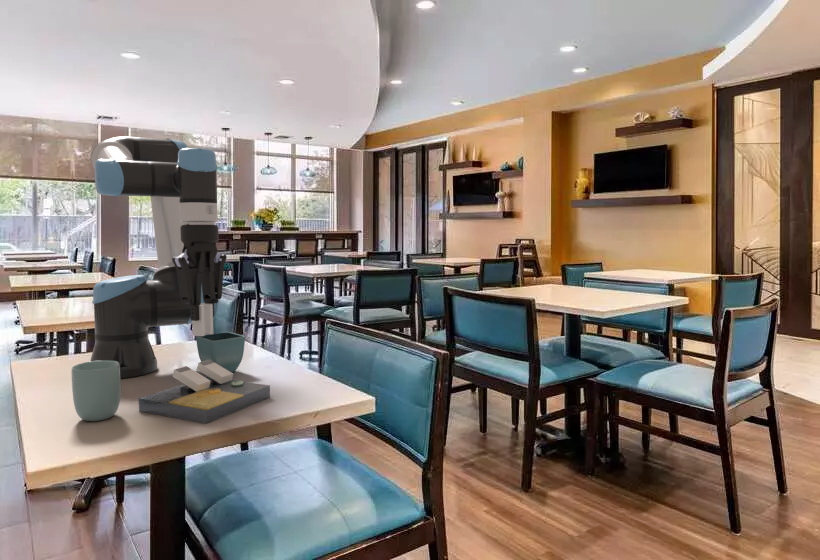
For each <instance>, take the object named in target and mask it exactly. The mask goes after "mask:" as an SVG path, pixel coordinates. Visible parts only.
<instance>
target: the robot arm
mask: <svg viewBox="0 0 820 560" xmlns="http://www.w3.org/2000/svg"><path fill="white" fill-rule="evenodd" d="M90 162H91V165H92V167H93V169H94V184H95V190H96V194H97V193H98V195H101V196H111V197H123V196H124V197H150V205H151V213H152V221H153V230H154V231H153V232H154V238H155V246H156V248H155V249H156V256H157V257H156V258H157V266H158V269H157V270H156V271H154V273H153V274H152V278H153V279H150V280H149V279H147V276H146V275H144V274H134V275H133V274H132V275H126V276H125V275H124V276H118V277H113V278H108V279H104V280H100V281H98V282H97V283H95V284H94V286H93V289H92V290H93V291H92V293H93V294H92V302H91V303H92V304H93V313H94V314H93V316H94V317H93V318H94V341H95V343H94V346H93V350H92V353H91V357H90V361H89V362H91V361H107V360H109V361H117V362H119V365H120V379H128V378H133V377H138V376H139V377H140V376H144V375H147V374H151V373H153V372H155V371H156V370H157V369H158V360H157V357H156V356H155V351H154V349H153V345H152V344H151V342H150V340H149V328H151V327H152V328H153V327H167V326H168V327H169V326H177V325H178V326H180V325H187V326H188V325H190V324H191V325H192V326H191V327H192V336H195V337H196V336H205V335H208V334H214V318H215V304H218V303H219V300H221V299H222V297H223V284H224V270H225V264H226V261H227V255H226V254H221V253H220V252H218V251H219V250H218V247H217V242H219V240H220V239H219V237H220V236H219V235H220V234H219V226H218V225H217V224H216V223H217V222H218V220H219V217H218V215H219V214H218V210H219V209H218V181H217V180H218V179H217V177H218V175H217V174H218V173H217V170H218V165H217V158H216V153H215V151H213V150H212V149H207V148H202V147H199V148H198V147H188V145H187V143H185V142H184V141H182V140H177V139H172V138H153V137H152V138H151V137H143V136H142V137H139V136H138V137H137V136H129V135H127V136H126V135H124V136H121V135H120V136H115V137H111V138H108V139H104V140H103V141H100V142H99V143H98V144H96V145H95V146H94V148H93V149H92V151H91V155H90Z"/></svg>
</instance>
